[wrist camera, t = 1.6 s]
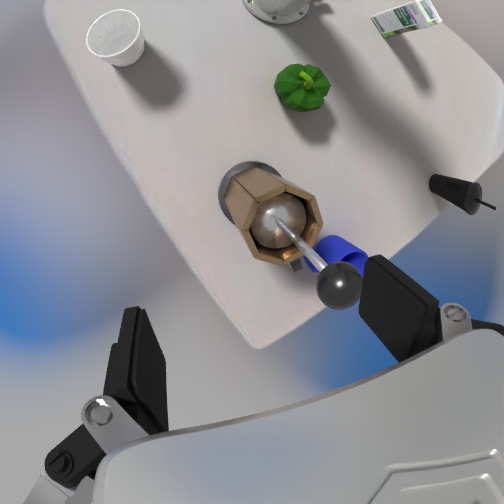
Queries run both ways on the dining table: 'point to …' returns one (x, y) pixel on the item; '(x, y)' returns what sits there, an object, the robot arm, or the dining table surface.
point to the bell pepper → (302, 87)
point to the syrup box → (406, 18)
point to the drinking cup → (458, 192)
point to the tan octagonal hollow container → (256, 191)
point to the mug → (339, 253)
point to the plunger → (305, 249)
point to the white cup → (116, 38)
